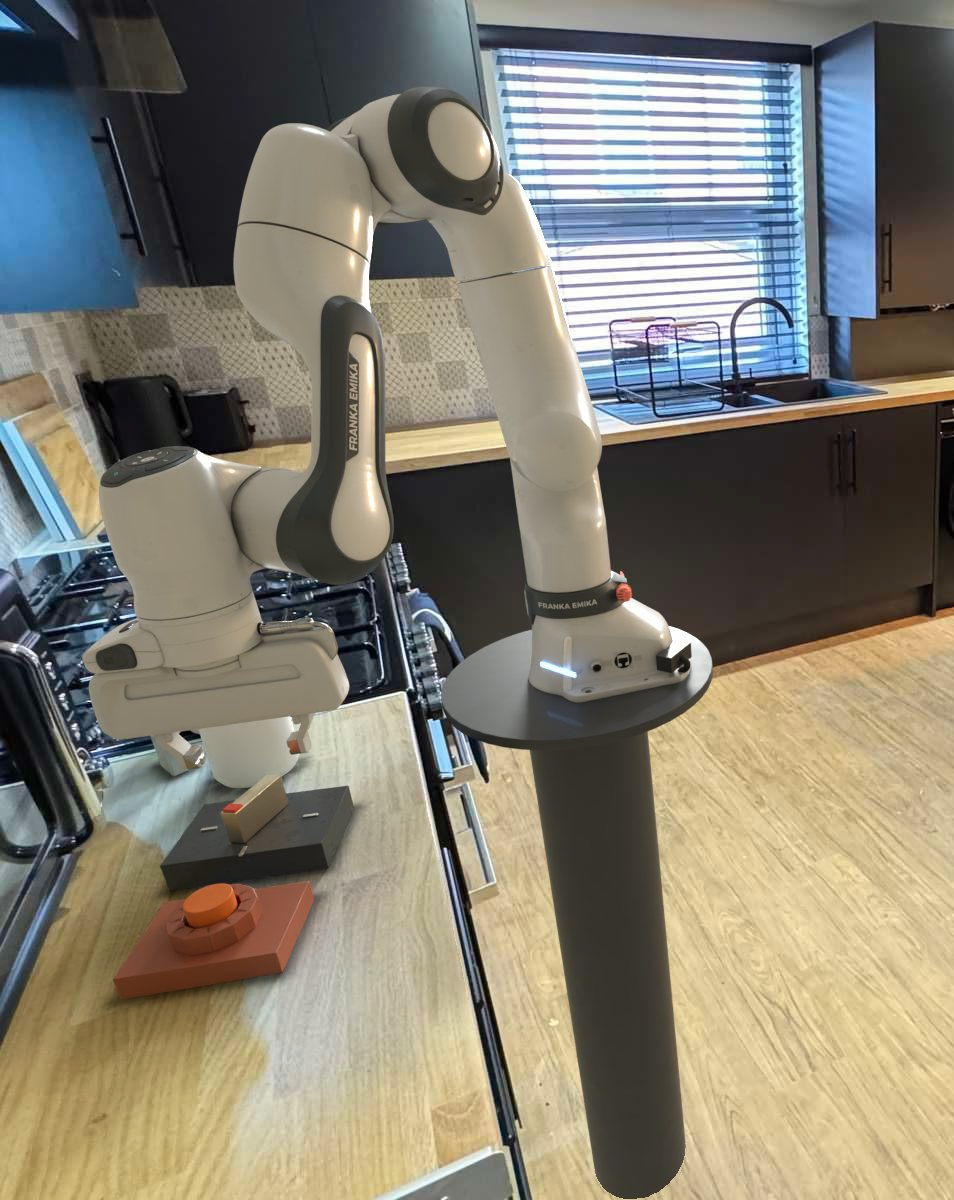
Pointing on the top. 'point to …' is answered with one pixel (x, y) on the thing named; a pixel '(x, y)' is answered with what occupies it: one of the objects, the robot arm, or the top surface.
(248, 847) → the control panel
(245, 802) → the beige rectangular block
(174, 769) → the lighter
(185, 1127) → the top surface
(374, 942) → the top surface
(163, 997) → the top surface
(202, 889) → the button
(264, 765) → the alcohol
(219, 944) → the button block
